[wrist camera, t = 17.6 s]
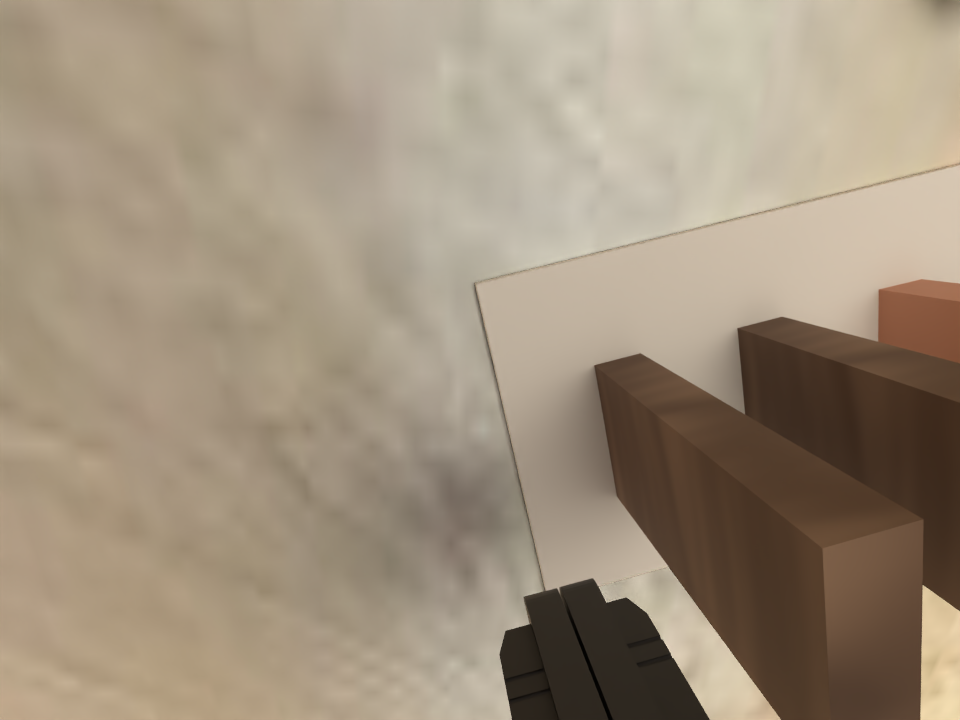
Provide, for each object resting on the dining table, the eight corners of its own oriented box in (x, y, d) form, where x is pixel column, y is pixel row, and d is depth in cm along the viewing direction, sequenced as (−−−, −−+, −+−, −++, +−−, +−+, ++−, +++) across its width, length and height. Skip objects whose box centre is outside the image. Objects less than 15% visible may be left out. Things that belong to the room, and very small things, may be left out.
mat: (545, 593, 20) (548, 600, 19) (474, 282, 16) (475, 284, 16) (1161, 418, 21) (1174, 422, 21) (1210, 102, 18) (1227, 99, 18)
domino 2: (749, 460, 19) (1095, 708, 9) (737, 328, 18) (1130, 460, 8) (790, 448, 19) (1175, 682, 9) (782, 316, 18) (1223, 432, 8)
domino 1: (616, 496, 19) (834, 791, 9) (594, 365, 17) (822, 548, 8) (659, 484, 19) (919, 764, 9) (640, 353, 17) (924, 519, 8)
